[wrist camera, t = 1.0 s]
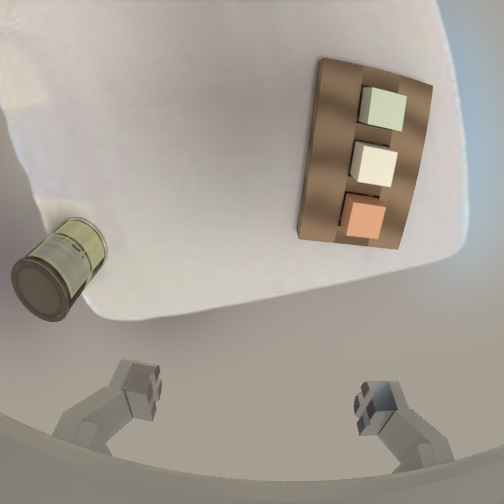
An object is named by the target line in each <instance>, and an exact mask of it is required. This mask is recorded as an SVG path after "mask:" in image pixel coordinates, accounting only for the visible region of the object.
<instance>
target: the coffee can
mask: <svg viewBox="0 0 504 504" xmlns="http://www.w3.org/2000/svg"><path fill="white" fill-rule="evenodd" d="M106 257H107V247H106V243H105V240H104V238H103V236H102V234H101V233H100V231H99V230H98V229H97V228H96V227H95V226H94V225H93V224H92V223H90V222H89V221H87V220H84V219H81V218H70V219H68V220H66V221H64V222H63V223H62V224H61V225H60V226H59V227H58V228H57V229H55V230H54V231H53V232H52V233H51V234H49V235H48V236H47V237H46V238H45V239H43V240H42V241H41V242H40V243H39V244H38V245H37V246H36V247H34V248H33V249H32V250H31V251H30V252H29V253H28V254H27V255H25V256H24V257H23V258H22V259H20V260H19V261H17V262H16V264H15V265H14V266H13V269H12V273H11V279H12V284H13V288H14V290H15V293H16V294H17V296H18V298H19V300H20V301H21V302H22V303H23V305H24V306H25V307H26V308H27V309H28V310H29V311H30V312H31V313H33V314H34V315H35V316H37V317H39V318H41V319H43V320H46V321H49V322H57V321H61V320H62V319H64V318H65V317H66V315H67V314H68V312H69V309H70V308H71V306H72V305H73V304H74V302H75V301H76V299H77V298H78V297H79V296H80V294H81V293H82V291H83V290H84V289H85V287H86V286H87V285H88V283H89V282H90V281H91V279H92V278H93V277H94V276H95V274H96V273H97V272H98V270H99V269H100V268H101V267H102V266H103V265H104V263H105V261H106Z"/></svg>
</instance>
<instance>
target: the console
mask: <svg viewBox="0 0 504 504" xmlns="http://www.w3.org/2000/svg"><path fill="white" fill-rule="evenodd" d="M364 87H373V88H377V89H381V90H385V91H389V92H393V93H397V94H400V95H404V96H407V99H406V106H405V113H404V120H403V126H402V132H401V131H397V130H393V129H388V128H384V127H379V126H375V125H370V124H366V123H363V122H360V121H359V115H360V108H361V100H362V93H363V88H364ZM432 91H433V86H432V85H429V84H426V83H423V82H420V81H416V80H413V79H410V78H407V77H403V76H400V75H396V74H393V73H389V72H386V71H382V70H378V69H374V68H370V67H366V66H361V65H357V64H352V63H348V62H343V61H338V60H333V59H327V58H323V59H321V60H319V69H318V78H317V87H316V96H315V104H314V112H313V120H312V128H311V136H310V143H309V151H308V158H307V165H306V172H305V179H304V186H303V193H302V200H301V206H300V213H299V219H298V225H297V233H298V238H299V239H303V240H313V241H322V242H332V243H341V244H351V245H360V246H369V247H378V248H387V249H396V250H398V248H399V245H400V241H401V238H402V235H403V231H404V228H405V224H406V220H407V217H408V213H409V209H410V205H411V201H412V197H413V193H414V189H415V185H416V180H417V176H418V172H419V167H420V162H421V157H422V152H423V147H424V142H425V136H426V131H427V125H428V119H429V112H430V106H431V98H432ZM356 141H359V142H364V143H369V144H374V145H379V146H384V147H388V148H390V149H392V150H394V151H396V152H398V154H397V159H396V164H395V169H394V174H393V179H392V184H391V187H386V186H380V185H374V184H368V183H362V182H357V181H356V180H355V179H354V178H353V177H352V176H351V175H350V171H351V166H352V160H353V154H354V148H355V142H356ZM346 193H349V194H356V195H362V196H369V197H375V198H378V199H379V200H380V201H381V202H382V203H383V204H384V206H385V207H386V210H385V214H384V218H383V222H382V226H381V229H380V233H379V237H378V239H373V238H364V237H355V236H347V235H346V234H345V232H344V230H343V228H342V226H341V225H340V223H341V218H342V213H343V208H344V203H345V198H346Z"/></svg>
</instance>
